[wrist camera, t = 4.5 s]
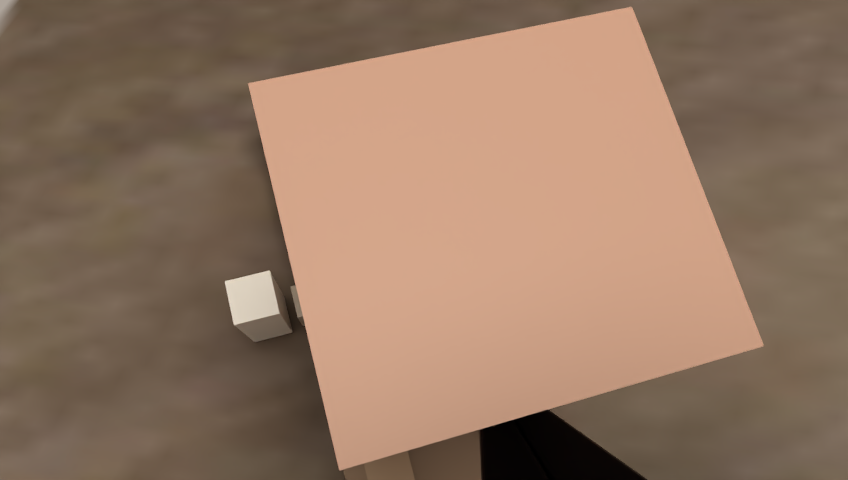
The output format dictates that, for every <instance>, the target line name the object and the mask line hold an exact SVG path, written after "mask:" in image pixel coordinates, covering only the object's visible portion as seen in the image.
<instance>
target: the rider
mask: <svg viewBox="0 0 848 480" xmlns="http://www.w3.org/2000/svg"><path fill="white" fill-rule="evenodd" d="M248 85H249V89H250V93H251V98H252V102H253V106H254V110H255V115H256V119H257V123H258V127H259V132H260V136H261V140H262V144H263V149H264V153H265V157H266V161H267V166H268V170H269V174H270V178H271V183H272V187H273V191H274V195H275V200H276V204H277V208H278V212H279V217H280V221H281V225H282V229H283V234H284V238H285V242H286V246H287V250H288V255H289V259H290V263H291V267H292V272H293V276H294V280H295V284H296V289H297V293H298V297H299V301H300V306H301V310H302V314H303V318H304V323H305V327H306V331H307V335H308V340H309V344H310V348H311V352H312V357H313V361H314V365H315V369H316V374H317V378H318V382H319V386H320V391H321V395H322V399H323V403H324V408H325V412H326V416H327V420H328V425H329V429H330V433H331V437H332V442H333V446H334V450H335V454H336V459H337V463H338V467H339V471H340V470H343V469H347V468H350V467H353V466H357V465H360V464H364V463H367V462H371V461H374V460H377V459H381V458H384V457H388V456H391V455H394V454H398V453H401V452H405V451H408V450H411V449H415V448H418V447H422V446H425V445H428V444H432V443H435V442H439V441H442V440H445V439H449V438H452V437H456V436H459V435H462V434H466V433H469V432H473V431H476V430H480V429H483V428H486V427H490V426H493V425H497V424H500V423H503V422H507V421H510V420H514V419H517V418H520V417H524V416H527V415H531V414H534V413H537V412H541V411H544V410H548V409H551V408H554V407H558V406H561V405H565V404H568V403H572V402H575V401H578V400H582V399H585V398H589V397H592V396H595V395H599V394H602V393H606V392H609V391H612V390H616V389H619V388H623V387H626V386H629V385H633V384H636V383H640V382H643V381H646V380H650V379H653V378H657V377H660V376H664V375H667V374H670V373H674V372H677V371H681V370H684V369H687V368H691V367H694V366H698V365H701V364H704V363H708V362H711V361H715V360H718V359H721V358H725V357H728V356H732V355H735V354H738V353H742V352H745V351H749V350H752V349H756V348H759V347H762V346H764V345H763V342H762V340H761V337H760V335H759V332H758V329H757V327H756V324H755V322H754V319H753V317H752V314H751V311H750V309H749V306H748V304H747V301H746V299H745V296H744V294H743V291H742V288H741V286H740V283H739V281H738V278H737V276H736V273H735V270H734V268H733V265H732V263H731V260H730V258H729V255H728V252H727V250H726V247H725V245H724V242H723V240H722V237H721V234H720V232H719V229H718V227H717V224H716V222H715V219H714V216H713V214H712V211H711V209H710V206H709V204H708V201H707V198H706V196H705V193H704V191H703V188H702V186H701V183H700V180H699V178H698V175H697V173H696V170H695V168H694V165H693V162H692V160H691V157H690V155H689V152H688V150H687V147H686V144H685V142H684V139H683V137H682V134H681V132H680V129H679V126H678V124H677V121H676V119H675V116H674V114H673V111H672V109H671V106H670V103H669V101H668V98H667V96H666V93H665V91H664V88H663V85H662V83H661V80H660V78H659V75H658V73H657V70H656V67H655V65H654V62H653V60H652V57H651V55H650V52H649V49H648V47H647V44H646V42H645V39H644V37H643V34H642V31H641V29H640V26H639V24H638V21H637V19H636V16H635V13H634V11H633V8H632V7H628V8H623V9H618V10H613V11H608V12H603V13H598V14H593V15H588V16H583V17H578V18H573V19H568V20H563V21H558V22H553V23H548V24H543V25H538V26H533V27H528V28H523V29H518V30H513V31H508V32H503V33H498V34H493V35H488V36H483V37H478V38H473V39H468V40H463V41H458V42H453V43H448V44H443V45H438V46H433V47H428V48H423V49H418V50H413V51H408V52H403V53H398V54H393V55H388V56H383V57H378V58H373V59H368V60H363V61H358V62H353V63H348V64H343V65H338V66H333V67H328V68H323V69H318V70H313V71H308V72H303V73H298V74H292V75H287V76H282V77H277V78H272V79H267V80H262V81H257V82H252V83H248Z"/></svg>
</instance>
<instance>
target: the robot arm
mask: <svg viewBox="0 0 848 480" xmlns="http://www.w3.org/2000/svg"><path fill="white" fill-rule="evenodd" d="M479 437H480V462H481V480H647V479H646V478H644V477H643V476H641V475H640V474H639V473H637V472H636V471H634V470H633V469H632V468H630V467H629V466H627V465H626V464H625V463H623V462H622V461H620V460H619V459H617V458H616V457H615V456H613V455H612V454H610V453H609V452H608V451H606V450H605V449H603V448H602V447H600V446H599V445H598V444H596V443H595V442H593V441H592V440H591V439H589V438H588V437H586V436H585V435H583V434H582V433H581V432H579V431H578V430H576V429H575V428H574V427H572V426H571V425H569V424H568V423H567V422H565V421H564V420H562V419H561V418H559V417H558V416H557V415H555V414H554V413H552V412H551V411H550V410H544V411H541V412H537V413H534V414H531V415H527V416H524V417H520V418H517V419H514V420H510V421H507V422H503V423H500V424H497V425H493V426H490V427H486V428H483V429H480V430H479Z"/></svg>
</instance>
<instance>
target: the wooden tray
mask: <svg viewBox="0 0 848 480" xmlns="http://www.w3.org/2000/svg"><path fill="white" fill-rule="evenodd" d="M290 287H291V292H292V296H293V300H294V304H295V309H296V313H297V317H298V319H299V321H300V323H301V325H302V326H305V323H304V318H303V314H302V310H301V306H300V301H299V297H298V293H297V289H296V285H294V286H290ZM343 472H344V476H345V480H481V462H480V437H479V430H476V431H473V432H469V433H466V434H462V435H459V436H456V437H452V438H449V439H445V440H442V441H439V442H435V443H432V444H428V445H425V446H422V447H418V448H415V449H411V450H408V451H405V452H401V453H398V454H394V455H391V456H388V457H384V458H381V459H377V460H374V461H371V462H367V463H364V464H360V465H357V466H353V467H350V468H347V469H343Z"/></svg>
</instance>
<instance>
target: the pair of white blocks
mask: <svg viewBox="0 0 848 480" xmlns="http://www.w3.org/2000/svg"><path fill="white" fill-rule="evenodd" d="M225 285H226V290H227V295H228V299H229V304H230V309H231V314H232V318H233V323H234V326H236V327H237V328H238V329H239V330H241V331H242V332H243V333H244V334H245V335H247V336H248V337H249V338H250V339H252V340H253V341H254V342H258V341H262V340H265V339H269V338H273V337H277V336H281V335H285V334H289V333H293V332H292V327H291V323H290V319H289V314H288V310H287V306H286V301H285V297H284V295H283V293H282V291H281V290H280V288H279V286H278V284H277V282H276V281H275V279H274V277H273V275H272V274H271V272H270V270H269V271H265V272H261V273H257V274H253V275H249V276H245V277H241V278H237V279H232V280H228V281H225Z"/></svg>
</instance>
